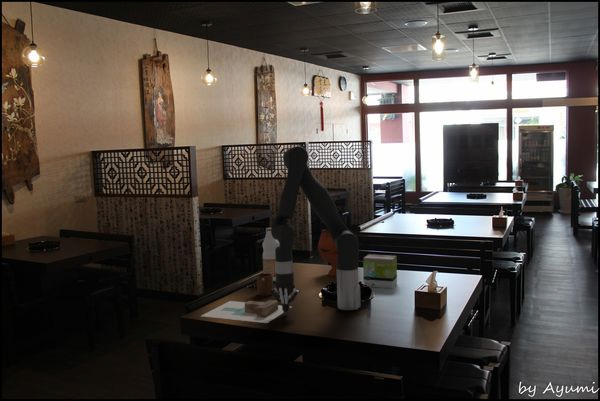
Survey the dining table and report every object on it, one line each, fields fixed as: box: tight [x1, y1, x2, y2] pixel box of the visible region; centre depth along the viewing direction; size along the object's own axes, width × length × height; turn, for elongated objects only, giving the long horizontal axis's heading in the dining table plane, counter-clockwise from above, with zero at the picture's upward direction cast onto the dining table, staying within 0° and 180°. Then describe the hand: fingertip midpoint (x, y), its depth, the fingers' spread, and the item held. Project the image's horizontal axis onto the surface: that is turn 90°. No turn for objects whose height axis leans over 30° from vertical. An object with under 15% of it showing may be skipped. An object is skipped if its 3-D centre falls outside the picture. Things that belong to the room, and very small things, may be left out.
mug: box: [256, 273, 274, 297], centre depth 259 cm, size 12×8×9 cm, turn 175°
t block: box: [245, 299, 279, 318], centre depth 231 cm, size 12×12×4 cm
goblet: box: [317, 228, 338, 277], centre depth 297 cm, size 19×19×25 cm
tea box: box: [362, 254, 398, 289], centre depth 269 cm, size 15×10×15 cm
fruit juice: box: [262, 227, 280, 282], centre depth 289 cm, size 9×9×28 cm
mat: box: [200, 300, 293, 324], centre depth 233 cm, size 32×24×1 cm
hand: (286, 311), depth 225 cm, fingers closed
